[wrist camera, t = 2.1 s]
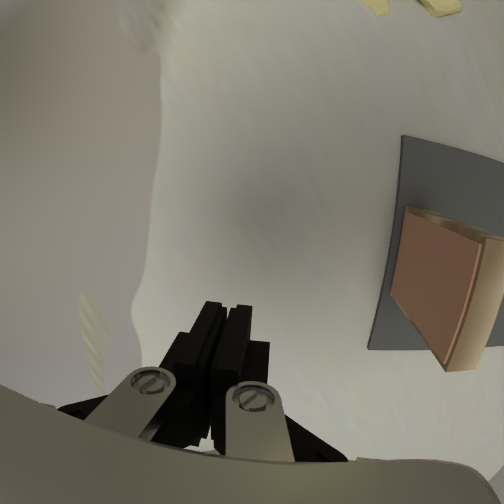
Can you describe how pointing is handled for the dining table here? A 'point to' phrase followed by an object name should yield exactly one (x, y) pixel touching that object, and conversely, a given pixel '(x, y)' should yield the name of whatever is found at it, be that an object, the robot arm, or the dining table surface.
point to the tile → (449, 285)
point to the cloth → (436, 3)
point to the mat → (444, 202)
